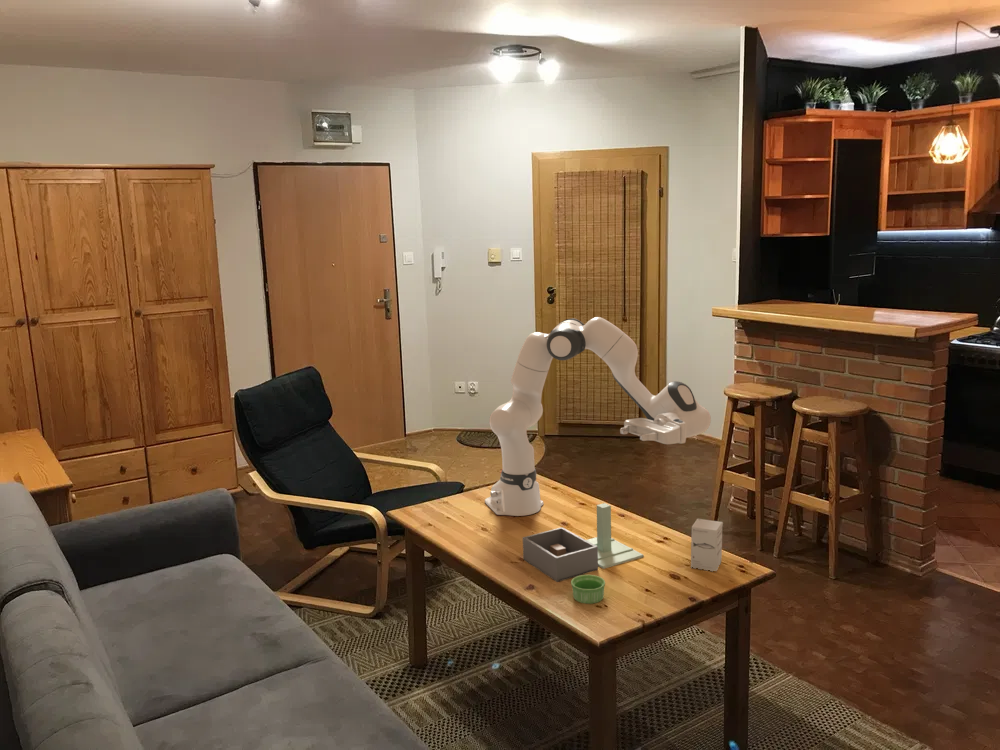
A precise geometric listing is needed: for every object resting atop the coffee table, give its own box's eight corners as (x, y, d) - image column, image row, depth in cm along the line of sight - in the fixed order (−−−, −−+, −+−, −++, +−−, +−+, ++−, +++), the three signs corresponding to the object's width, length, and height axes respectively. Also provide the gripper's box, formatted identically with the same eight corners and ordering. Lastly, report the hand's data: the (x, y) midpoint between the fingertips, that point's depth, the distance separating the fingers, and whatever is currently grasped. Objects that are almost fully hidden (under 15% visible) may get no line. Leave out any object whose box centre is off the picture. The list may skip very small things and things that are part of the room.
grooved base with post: (566, 548, 243) (565, 501, 240) (605, 537, 250) (604, 492, 247) (603, 569, 227) (602, 520, 224) (643, 557, 234) (643, 509, 231)
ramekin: (592, 586, 216) (592, 571, 215) (612, 599, 208) (612, 584, 208) (564, 594, 212) (564, 579, 211) (583, 608, 204) (583, 592, 203)
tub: (523, 559, 235) (522, 537, 234) (562, 548, 242) (562, 527, 240) (556, 582, 220) (556, 558, 218) (598, 569, 226) (597, 546, 225)
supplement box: (690, 568, 225) (690, 526, 222) (696, 558, 231) (697, 517, 229) (716, 573, 221) (717, 530, 219) (722, 562, 228) (723, 521, 225)
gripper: (644, 411, 254) (610, 417, 248) (689, 423, 237) (653, 431, 230) (644, 430, 256) (610, 437, 249) (689, 444, 238) (653, 452, 231)
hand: (631, 434), depth 239 cm, fingers open, 8 cm apart
